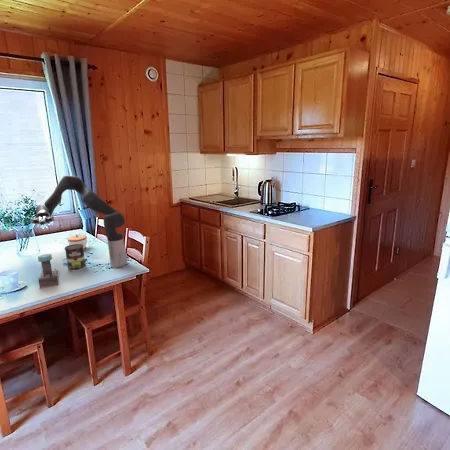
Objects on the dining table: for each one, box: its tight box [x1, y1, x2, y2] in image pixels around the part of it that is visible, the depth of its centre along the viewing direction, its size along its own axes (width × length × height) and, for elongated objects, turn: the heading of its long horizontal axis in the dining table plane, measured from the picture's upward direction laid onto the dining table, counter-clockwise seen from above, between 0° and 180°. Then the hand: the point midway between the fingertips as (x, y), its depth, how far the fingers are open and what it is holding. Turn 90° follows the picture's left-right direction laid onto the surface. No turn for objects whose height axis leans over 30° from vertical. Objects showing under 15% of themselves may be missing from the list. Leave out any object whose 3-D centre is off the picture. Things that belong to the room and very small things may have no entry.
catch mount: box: [38, 268, 59, 289], centre depth 182 cm, size 20×9×6 cm, turn 27°
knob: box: [37, 253, 53, 277], centre depth 177 cm, size 7×7×14 cm
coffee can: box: [64, 244, 87, 272], centre depth 197 cm, size 10×10×14 cm
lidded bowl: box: [67, 234, 88, 249], centre depth 231 cm, size 13×13×11 cm
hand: (42, 222), depth 188 cm, fingers closed
